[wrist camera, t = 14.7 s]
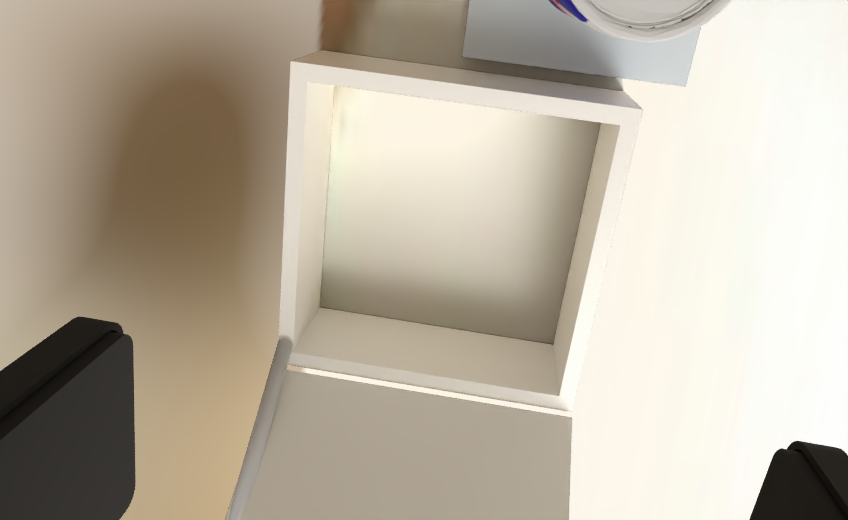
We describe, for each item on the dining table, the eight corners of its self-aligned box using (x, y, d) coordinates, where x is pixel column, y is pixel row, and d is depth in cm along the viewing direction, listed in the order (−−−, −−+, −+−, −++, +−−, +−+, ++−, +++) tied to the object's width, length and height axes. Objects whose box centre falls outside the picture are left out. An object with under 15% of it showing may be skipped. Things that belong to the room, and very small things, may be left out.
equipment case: (539, 469, 44) (556, 764, 27) (299, 428, 45) (174, 688, 28) (624, 91, 35) (726, 188, 18) (321, 50, 36) (158, 107, 19)
